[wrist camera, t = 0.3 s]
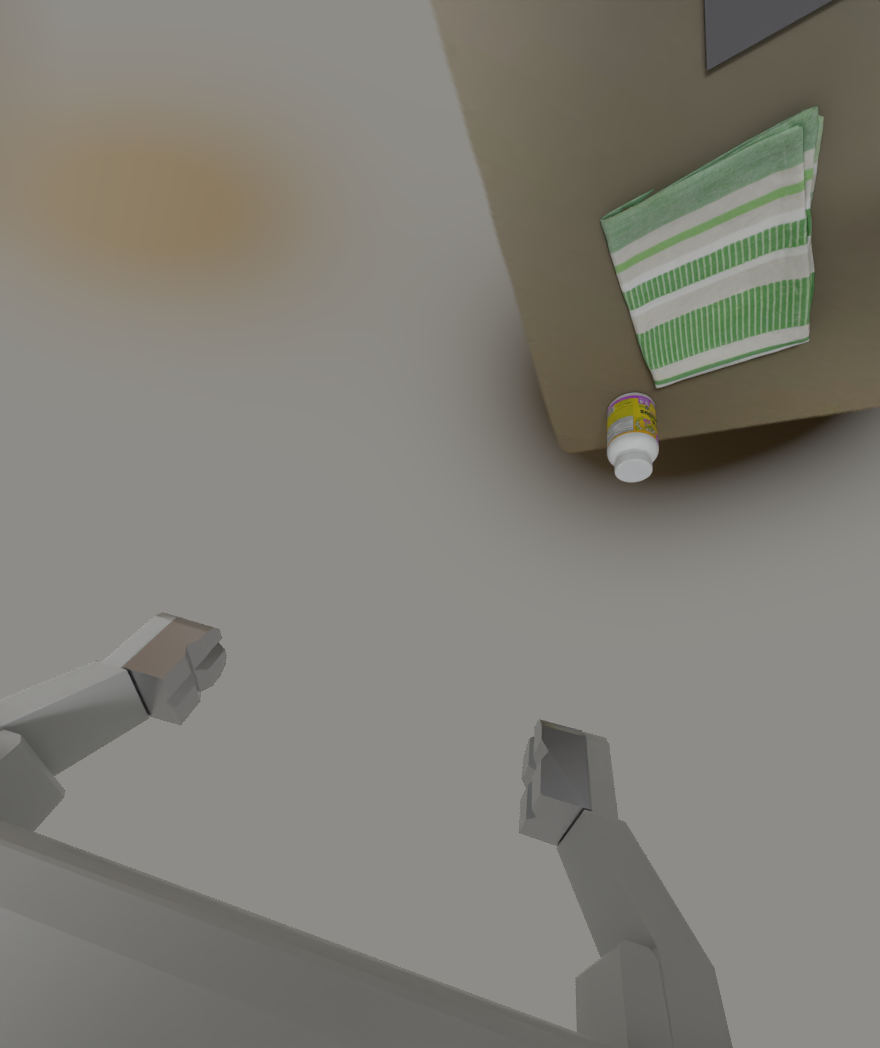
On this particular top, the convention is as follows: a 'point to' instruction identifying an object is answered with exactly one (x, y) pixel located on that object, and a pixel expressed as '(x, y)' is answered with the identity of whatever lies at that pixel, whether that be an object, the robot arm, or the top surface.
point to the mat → (747, 23)
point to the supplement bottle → (632, 436)
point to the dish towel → (723, 255)
